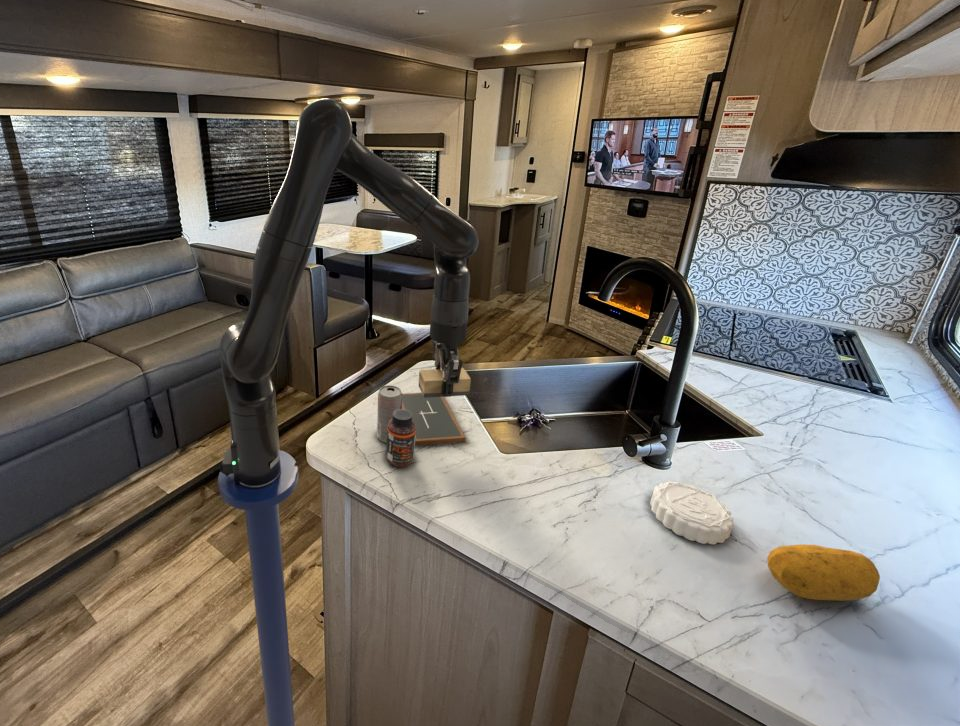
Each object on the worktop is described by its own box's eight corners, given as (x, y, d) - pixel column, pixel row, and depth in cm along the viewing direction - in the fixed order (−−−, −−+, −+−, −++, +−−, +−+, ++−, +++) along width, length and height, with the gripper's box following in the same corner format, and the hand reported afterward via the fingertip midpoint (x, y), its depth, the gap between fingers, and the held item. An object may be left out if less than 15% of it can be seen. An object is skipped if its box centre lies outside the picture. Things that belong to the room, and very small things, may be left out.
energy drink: (401, 431, 107) (403, 386, 103) (398, 445, 103) (400, 398, 98) (379, 427, 109) (380, 383, 104) (374, 441, 104) (375, 395, 100)
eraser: (423, 397, 97) (424, 381, 96) (418, 385, 102) (419, 369, 101) (469, 395, 98) (471, 378, 97) (461, 383, 103) (463, 367, 102)
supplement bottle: (390, 470, 95) (391, 424, 91) (382, 451, 100) (384, 407, 96) (417, 466, 96) (420, 420, 92) (409, 448, 102) (411, 404, 98)
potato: (745, 564, 74) (759, 531, 72) (841, 572, 73) (858, 538, 71) (779, 607, 68) (795, 572, 65) (885, 616, 67) (906, 581, 64)
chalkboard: (413, 445, 102) (414, 441, 102) (396, 397, 121) (396, 393, 121) (465, 441, 104) (466, 437, 103) (440, 395, 122) (440, 391, 122)
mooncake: (699, 554, 76) (705, 538, 75) (635, 503, 87) (639, 488, 85) (745, 533, 80) (751, 517, 79) (678, 487, 91) (683, 472, 90)
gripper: (423, 305, 100) (419, 373, 106) (441, 331, 87) (435, 408, 93) (456, 304, 101) (450, 372, 107) (479, 330, 88) (471, 406, 94)
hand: (443, 388), depth 100 cm, fingers closed on eraser, 5 cm apart
